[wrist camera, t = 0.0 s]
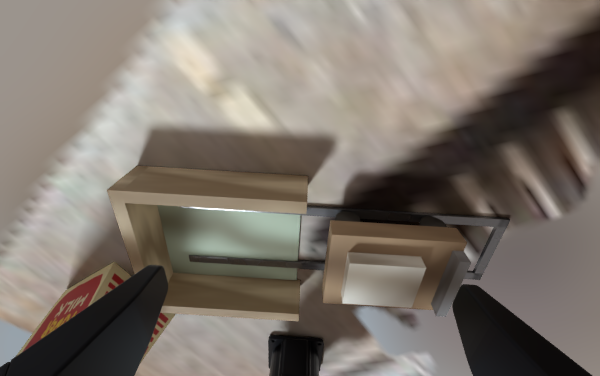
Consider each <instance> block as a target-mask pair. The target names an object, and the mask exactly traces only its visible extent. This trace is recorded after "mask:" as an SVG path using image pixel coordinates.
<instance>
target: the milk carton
mask: <svg viewBox="0 0 600 376" xmlns="http://www.w3.org/2000/svg"><path fill="white" fill-rule="evenodd" d="M130 277H132V276H131V275H129V274H128V273H127V272H126V271H125V270H123V269H122V268H121V267H120V266H119V265H117V264H116V263H115V262H113V263H111V264H109V265H108V266H106V267H104V268H103V269H101V270H99V271H97V272H96V273H94V274H92V275H90V276H89V277H87V278H85V279H84V280H82V281H80V282H79V283H77V284H75V285H74V286H72V287H70V288H69V289H67V290H66V291H65V292H64V293H63V294H62V296H61V297H60V298H59V300H58V301H57V302H56V303H55V305H54V306H53V307H52V309H51V310H50V311H49V312H48V314H47V315H46V316H45V318H44V319H43V320H42V322H41V323H40V324H39V325H38V327H37V328H36V329H35V331H34V332H33V334H32V335H31V336H30V338H29V339H28V340H27V342H26V343H25V345H24V346H23V347H22V349H21V350H20V351H19V353H18V354H17V355H19V354H20V353H22V352H23V351H25V350H26V349H27V348H29V347H30V346H32V345H33V344H35V343H36V342H38V341H39V340H40V339H42V338H43V337H45V336H46V335H48V334H49V333H51V332H52V331H53V330H55V329H56V328H58V327H59V326H61V325H62V324H64V323H65V322H66V321H68V320H69V319H71V318H72V317H74V316H75V315H77V314H78V313H79V312H81V311H82V310H84V309H85V308H87V307H88V306H90V305H91V304H92V303H94V302H95V301H97V300H98V299H100V298H101V297H103V296H104V295H105V294H107V293H108V292H110V291H111V290H113V289H114V288H116V287H117V286H118V285H120V284H121V283H123V282H124V281H126V280H127V279H129V278H130ZM174 316H175V314H174V313H160V315H159V318H158V321H157V323H156V326H155V329H154V332H153V335H152V337H151V340H150V343H149V345H148V347H147V349H146V352H145V354H144V356H143V358H142V360H143V359H144V357H145V356H146V354H147V353H148V352H149V350H150V349H151V347H152V346H153V345H154V343H155V342H156V341H157V339H158V338H159V336H160V335H161V334H162V332H163V331H164V329H165V328H166V327H167V325H168V324H169V323H170V321H171V320H172V318H173V317H174ZM142 360H141V362H142ZM141 362H140V363H141Z"/></svg>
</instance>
